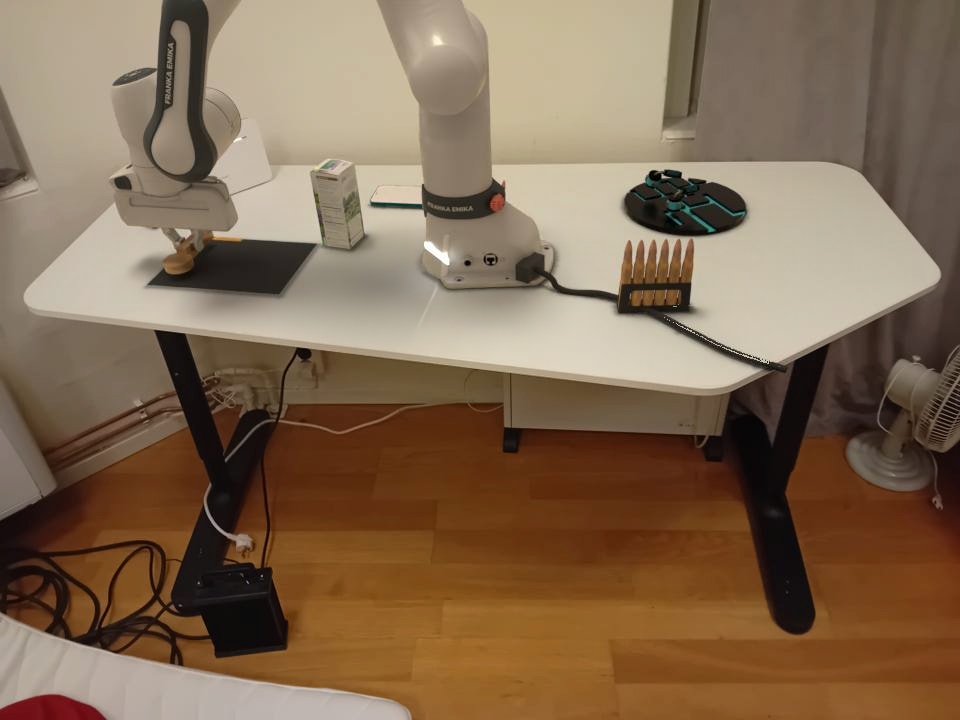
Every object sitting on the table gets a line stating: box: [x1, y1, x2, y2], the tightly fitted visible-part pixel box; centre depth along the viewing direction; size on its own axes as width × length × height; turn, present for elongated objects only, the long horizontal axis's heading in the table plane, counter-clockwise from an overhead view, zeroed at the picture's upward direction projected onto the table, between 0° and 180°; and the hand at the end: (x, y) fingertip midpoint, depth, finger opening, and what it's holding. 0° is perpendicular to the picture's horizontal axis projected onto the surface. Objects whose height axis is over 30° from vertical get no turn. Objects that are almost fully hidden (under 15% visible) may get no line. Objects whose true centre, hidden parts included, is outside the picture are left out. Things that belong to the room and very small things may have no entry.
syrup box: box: [309, 158, 365, 250], centre depth 131 cm, size 6×6×14 cm
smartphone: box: [369, 184, 423, 209], centre depth 148 cm, size 8×1×16 cm
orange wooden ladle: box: [162, 230, 215, 274], centre depth 130 cm, size 13×5×3 cm, turn 168°
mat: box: [147, 236, 318, 296], centre depth 130 cm, size 24×17×1 cm
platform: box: [623, 168, 747, 236], centre depth 138 cm, size 22×22×6 cm
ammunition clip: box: [616, 237, 695, 314], centre depth 110 cm, size 11×2×12 cm, turn 88°
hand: (189, 248), depth 130 cm, fingers closed on orange wooden ladle, 2 cm apart
